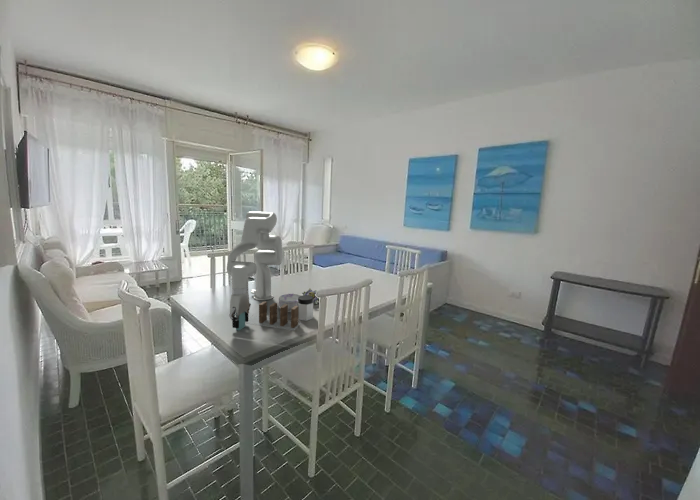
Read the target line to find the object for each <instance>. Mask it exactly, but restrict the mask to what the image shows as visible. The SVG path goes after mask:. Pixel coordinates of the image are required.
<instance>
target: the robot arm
mask: <svg viewBox="0 0 700 500" xmlns="http://www.w3.org/2000/svg"><path fill="white" fill-rule="evenodd" d="M277 222H278V216H277V214H276V213H275V212H270V211H259V210H258V211H256V210H252V211H247V212H246V214H245V221H244V224H243V228H242V235H241V240H240V242H239V243H238V244H237V245H236V246H235V247H234V248H233V249H232V250H231V251H230V253H229V254H228V258H227V264H226V273H227V274H228V275H229V276H231V295H230V300H229V315H228V317H229V318H230V320H231V321H232V323H231V324H232V325H231V326H232V328H233V329H236V328H239V320H238V318H239V315H240V314H242V313H243V312H245V322H248V318H249V314H250V309H251V305H252V304H251V303H250V294H253V296H252V297H253V299H254V300H256V301H270V300H272V299H273V298H274V294H273V293H272V270H271V269H270V267H269V266H281V264H282V263H283V244H282V239H281V238H282V237H280V236H279V235H277V234H270V233H271V232H272V231H273V230H274V229H275V227H276V225H277ZM255 248H256V249H258V250H257V251H255V252H254V255H253V256H254V257H253V258H254V259H253V260H254V262H252V261H237V259H238V257H239V256H240V255H241V254H243V253H245V252H247V251H250V250H253V249H255ZM253 276H255V289H251V291H250V294H249V278H252V277H253ZM236 313H237V314H236ZM236 315H237V317H236Z"/></svg>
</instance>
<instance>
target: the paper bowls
mask: <svg viewBox="0 0 700 500" xmlns="http://www.w3.org/2000/svg"><path fill="white" fill-rule="evenodd" d="M302 295H303V294H299V293H285V294H283V295H280V296H279V297H278V307H279V308H280V307H282V306H283V305H284V304H287V305H288V313H291V309H292V308H293V307H294V306H298V297H299V296H302Z"/></svg>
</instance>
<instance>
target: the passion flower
mask: <svg viewBox="0 0 700 500" xmlns="http://www.w3.org/2000/svg"><path fill="white" fill-rule="evenodd" d="M301 293H302V294H301V295H309V296H312V297H313V304H315V305H317V304H318V303H319V298H317V297H316V296H315V294H316V293H317V290H312V289H311V288H309V289H308V290H306V291H303V292H301Z"/></svg>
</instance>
